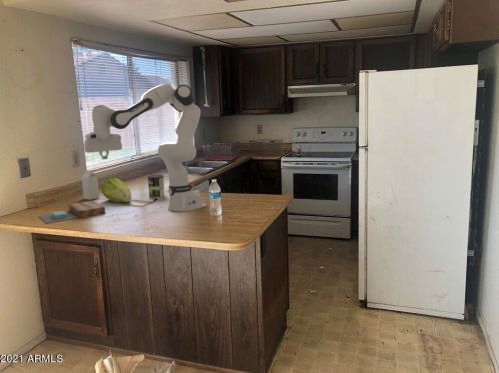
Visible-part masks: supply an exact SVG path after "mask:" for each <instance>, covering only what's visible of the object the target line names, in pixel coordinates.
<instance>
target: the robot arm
mask: <svg viewBox="0 0 499 373" xmlns="http://www.w3.org/2000/svg"><path fill="white" fill-rule="evenodd" d="M194 102H195V99H194V92H193V90H192V88H191V87H190V86H189V85H188V84H185V83H184V84H179V85H177V87H175V88H174V87H173V86H172V85H171V84H170V83H167V82H165V83H162V84H159V85H157V86H154V87H153V88H150V89H148V90H147V91H146V92H144V93H143V94H142V95H141V98H140V100H139V101H138V102H136V103H134V104H133V105H131V106H129V107H128V108H126V109H121V110H120V109H119V110H117V109H115V108H111V107H110V106H108V105H107V104H99V105H96V106H93V108H92V111H91V118H92V121H91V122H92V124H93V131H92V132H90V133H86V134H85V135H84V137H85V140H84V143H83V144H84V146H83V147H84V152H85V153H87V154H88V153H98V154H99V156H101V158H100V159H101V160H103V161H104V160H108V159H109V157H108V156H109V154H110V151H119V150H120V151H121V150H122V149H123V144H122V136H121V134H119V133H111V127H112V128H113V127H114V128H115V129H118V130H124V129H126V128H127V127H128V126H129V125H130V123H131V122H132V121H133V120H134V119H136V118H138V117H139V116H141V115H143V114H145V113H146V112H150V111H153V110H156V109H158V108H160V107H162V106H164V105H166V104H167V103H169V105H170V106H171V107H172V108H174V109H175V110H176V111H177V112H179V113H181V114H180V115H179V116H180V117H179V118H178V122H177V125H176V126H175V129H174V132H175V134H176V135H177V140H176V141H165V142H162V143H160V144H159V146H158V148H157V153H158V156H159V157H160V158H161V160H163V162H164V164H165V167H166V170H167V174H168V183H169V185H168V195H169V200H168V201H169V202H168V206H167V210H168V211H173V212H190V211H193V210H197V209H201V208H205V207H207V204H206V203H205V202H203V199H202V196H201V195H199V194H198V193H197V192H196V191H194V190H193V189H194V188H195V185H194V184H190V183H189V172H188V169H187V168H185V166H184V165H183V162H190V161H193V160H194V159H195V157H196V155H197V149H196V147H195V145H194V136H195V133H196V130H197V128H198V125H199V121H200V118H201V115H202V114H201V112H202V111H201V108H200V107H199V105H196V104H194ZM104 152H105V155H103V153H104Z"/></svg>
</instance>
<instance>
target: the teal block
mask: <svg viewBox="0 0 499 373" xmlns="http://www.w3.org/2000/svg"><path fill="white" fill-rule="evenodd" d="M51 214H52V216H53V217H54V218H55V219H59V218H65V217H67V213H66V211H64V210H60V211H53V212H52V211H51Z"/></svg>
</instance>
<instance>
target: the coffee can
mask: <svg viewBox="0 0 499 373" xmlns="http://www.w3.org/2000/svg"><path fill="white" fill-rule="evenodd" d="M164 181H165V180H164V175H162V174H153V175H148V176H147V184H148V197H149V199H161V198H164V197H165V185H164V184H165V183H164Z"/></svg>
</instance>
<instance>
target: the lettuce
mask: <svg viewBox="0 0 499 373" xmlns="http://www.w3.org/2000/svg"><path fill="white" fill-rule="evenodd" d="M101 193H102V194H103V196H104V197H105V198H106V199H108V200H109V201H110V202H113V203H128V202H130V201H131V200H132V192H131V189H130V188H129V186H128V185H127V184H126V183H125V182H124V181H123V180H121V179H119V178H116V177H111V178H109V179H107V180H106V181H105V182H103V184H102V186H101Z"/></svg>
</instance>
